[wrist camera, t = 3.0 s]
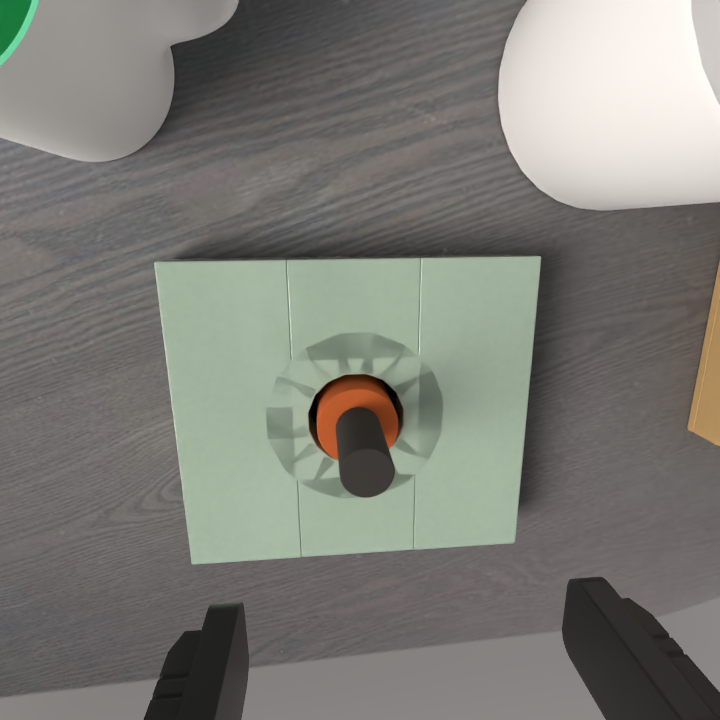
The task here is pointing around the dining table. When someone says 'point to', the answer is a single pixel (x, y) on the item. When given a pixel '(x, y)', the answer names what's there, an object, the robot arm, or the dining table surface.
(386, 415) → the plug
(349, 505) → the green drain plate
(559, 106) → the cup
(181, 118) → the dining table surface
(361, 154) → the dining table surface
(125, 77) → the mug
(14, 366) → the dining table surface
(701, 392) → the tray
